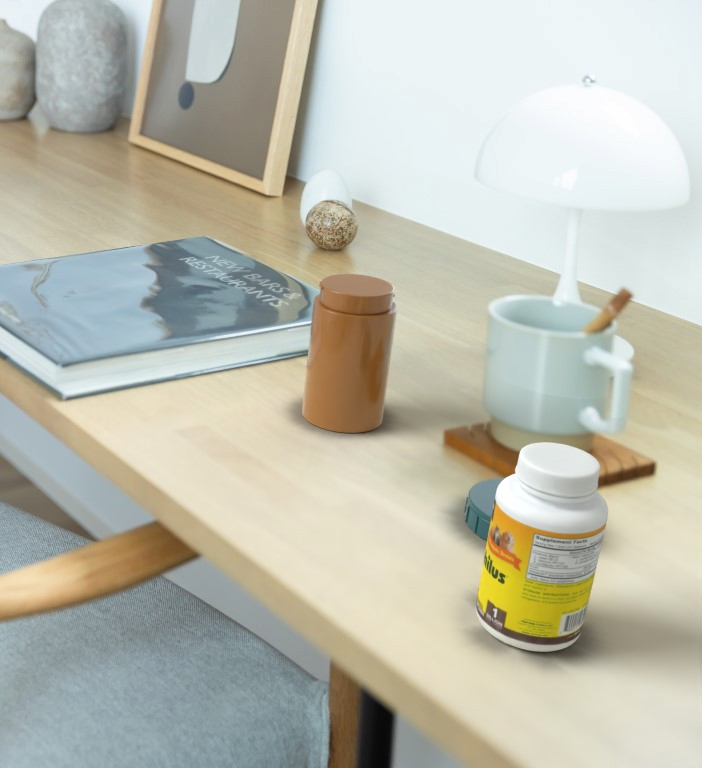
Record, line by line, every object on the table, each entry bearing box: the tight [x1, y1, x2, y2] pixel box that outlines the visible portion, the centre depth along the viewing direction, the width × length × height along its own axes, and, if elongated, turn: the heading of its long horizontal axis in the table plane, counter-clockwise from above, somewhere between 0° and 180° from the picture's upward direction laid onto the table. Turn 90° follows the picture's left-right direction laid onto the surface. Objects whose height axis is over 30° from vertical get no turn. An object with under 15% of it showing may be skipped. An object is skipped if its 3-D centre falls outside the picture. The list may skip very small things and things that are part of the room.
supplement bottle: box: [475, 441, 609, 653], centre depth 62 cm, size 6×6×10 cm
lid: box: [463, 477, 506, 541], centre depth 73 cm, size 7×7×2 cm
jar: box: [301, 273, 398, 434], centre depth 86 cm, size 6×6×10 cm
